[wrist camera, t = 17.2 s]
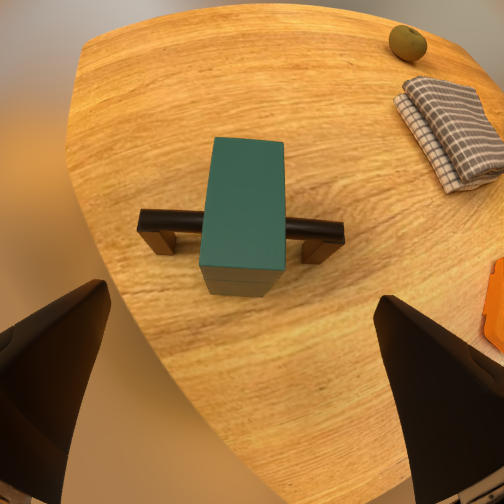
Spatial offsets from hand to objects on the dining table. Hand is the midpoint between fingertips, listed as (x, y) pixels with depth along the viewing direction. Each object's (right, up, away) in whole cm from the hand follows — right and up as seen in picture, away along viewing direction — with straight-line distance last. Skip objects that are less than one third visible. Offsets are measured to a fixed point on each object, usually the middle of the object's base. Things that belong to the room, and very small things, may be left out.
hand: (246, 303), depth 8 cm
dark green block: (-1, +2, +14) cm, 14 cm away
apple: (+29, +40, +28) cm, 57 cm away
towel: (+29, +17, +22) cm, 40 cm away
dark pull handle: (-1, +2, +14) cm, 14 cm away
